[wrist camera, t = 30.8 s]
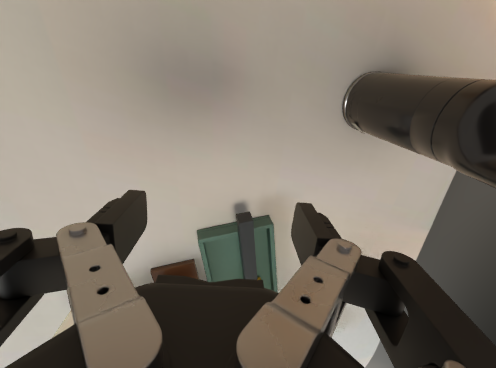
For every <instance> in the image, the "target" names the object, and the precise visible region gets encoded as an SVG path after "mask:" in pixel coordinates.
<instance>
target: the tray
mask: <svg viewBox="0 0 496 368" xmlns="http://www.w3.org/2000/svg"><path fill="white" fill-rule="evenodd" d="M253 224H254V238H255V252H256V266H257V278H258V277H260V278H261V280H263V283H264V288H267V289H270V290H273V291H275V292H277V275H276V259H275V242H274V226H273V222H272V221H271V219H270V217H269V215H267V216H262V217H258V218H253ZM197 235H198V243H199V247H200V252H201V256H202V260H203V264H204V269H205V273H206V277H207V281H208V282H217V281H224V280H232V279H244V278H243V269H242V261H241V253H240V244H239V236H238V228H237V222H234V223H229V224H225V225H220V226H215V227H210V228H206V229H201V230H197ZM277 293H278V292H277Z"/></svg>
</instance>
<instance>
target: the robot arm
mask: <svg viewBox="0 0 496 368" xmlns="http://www.w3.org/2000/svg"><path fill="white" fill-rule="evenodd" d="M343 115H344V118H345V120H346V122H347V123H348V125H349V126H351V127H352V128H354V129H356V130H359V131H360V132H361V133H364V132H366V133H368V134H370V135H373V136H375V137H378V138H380V139H383V140H385V141H388V142H391V143H393V144H396V145H398V146H401V147H403V148H406V149H408V150H411V151H413V152H416V153H418V154H421V155H424V156H426V157H429V158H431V159H434V160H436V161H439V162H441V163H444V164H446V165H449V166H451V167H453V168H454V169H456V170H457V171H459V172H461V173H463V174H465V175H467V176H469V177H472V178H474V179H476V180H479V181H481V182H483V183H486V184H488V185H490V186H492V187H494V188H496V80H485V79H470V78H452V77H436V76H421V75H406V74H392V73H382V72H369V73H366V74H364V75H362V76H360V77H359V78H358V79H356V80H355V81H354V82H353V84H352V85H351V86H350V88H349V89H348V91H347V93H346V95H345V98H344V102H343ZM364 134H365V133H364ZM146 225H147V201H146V193H145V191H139V190H128V191H127V192H126V193H125V194H124V195H123V196H122V197H121V198H117V199H114V200H112V201H110V202H108V203H107V204H106V205H105V206H104V207H103V208H101V209H100V210H99V211H98V212H97V213H96V214H95V215H94V216H92V217H91V218H90V219H89V220H88V221H87V222H83V223H75V224H71V225H68V226H66V227H64V228H62V229H60V230H59V231H58V232H57V234H56V237H52V238H43V239H33V236H32V232H31V230H29V229H25V228H12V229H7V230H2V231H0V346H1V345H2V344H3V343H4V342H5V340H6V339H7V338H8V337H9V336H10V334H11V333H12V332H13V331H14V330H15V328H16V327H17V326H18V325H19V324H20V323H21V321H22V320H23V319H24V318H25V317H26V315H27V314H28V313H29V312H30V311H31V309H32V308H33V307H34V306H35V305H36V304H37V302H38V301H39V300H40V299H41V298H42V296H43V295H44V293H50V292H56V291H61V290H67V294H68V299H69V303H70V308H71V313H72V317H73V322H74V325H72V326H71V327H69V328H68V329H66V330H64V331H63V332H61V333H60V334H58V335H56V336H55V337H53V338H52V339H50V340H48V341H47V342H45V343H44V344H42V345H40V346H39V347H37V348H36V349H34V350H32V351H31V352H29V353H28V354H26V355H24V356H23V357H21V358H20V359H18V360H16V361H15V362H13V363H12V364H10V365H8V366H7V367H5V368H364V367H363V366H362V365H361V364H360V363H359V362H358V361H357V360H355V359H354V358H353V357H352V356H351V355H350V354H349V353H348V352H347V351H345V350H344V349H343V348H342V347H341V346H340V345H339V344H338V343H337V342H335V341H334V340H333V339H332V335H333V333H334V330H335V328H336V326H337V324H338V321H339V319H340V317H341V314H342V312H343V310H344V308H345V305H346V303H349V304H352V305H356V306H359V307H363V308H365V310H366V312H367V314H368V316H369V318H370V320H371V322H372V324H373V326H374V328H375V330H376V332H377V334H378V336H379V338H380V340H381V342H382V344H383V346H384V348H385V350H386V352H387V354H388V356H389V358H390V360H391V362H392V364H393V366H394V368H496V346H495V345H494V344H493V343H492V342H491V341H490V339H489V338H488V337H487V336H486V335H485V334H484V333H483V332H482V331H481V330H480V329H479V328H478V327H477V326H476V325H475V324H474V323H473V321H472V320H471V319H470V318H469V317H468V316H467V315H466V314H465V313H464V312H463V311H462V310H461V309H460V308H459V307H458V306H457V304H455V302H454V301H453V300H452V299H451V298H450V297H449V296H448V295H447V294H446V293H445V292H444V291H443V290H442V289H441V288H440V286H439V285H438V284H437V283H436V282H435V281H434V280H433V279H432V278H431V277H430V276H429V275H428V274H427V273H426V272H425V271H424V270H423V268H422V267H421V266H420V265H419V264H418V263H417V262H416V261H415V260H413V259H412V258H410V257H408V256H406V255H404V254H402V253H398V252H394V251H386V252H384V253H383V254H382V256H381V259H380V260H378V259H374V258H370V257H366V256H363V255H361V250H360V248H359V247H358V246H357V245H355V244H354V243H352V242H350V241H347V240H344V239H342V238H341V237H340V235H339V234H338V232H337V231H336V229H334V227H333V225H332V224H331V222H330V221H329V219H328V218H327V217H326V216H324V215H323V214H321V213H317V212H316V210H315V208H314V207H313V205H312V204H311V203H297V204H296V207H295V212H294V218H293V223H292V229H291V237H292V241H293V244H294V247H295V249H296V252H297V255H298V258H299V260H300V263H301V267H300V268H299V270H298V271H297V272H296V273H295V274H294V276H293V277H292V278H291V279H290V281H289V282H288V283H287V284H286V285H285V287H284V288H283V289H282V290H281V291H280V293H277V292H275V291H273V290H270V289H267V288H264V283H263V280H255V279H232V280H224V281H217V282H207V281H203V280H199V279H195V278H191V277H187V276H176V275H158V276H157V279H156V281H155V283H150V284H145V285H142V286H139V287H136V288H135V287H134V285H133V284H132V282H131V280H130V278H129V276H128V274H127V272H126V270H125V268H124V266H123V263H124V261H125V260H126V258H127V257H128V255H129V254H130V252H131V251H132V249H133V247H134V246H135V244H136V243H137V241H138V240H139V238H140V237H141V235H142V234H143V232H144V230H145V228H146ZM405 306H406V308H407V311H408V316H409V317H408V316H407V314H406V313H405V311H404V308H405Z"/></svg>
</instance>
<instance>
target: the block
mask: <svg viewBox="0 0 496 368" xmlns="http://www.w3.org/2000/svg"><path fill="white" fill-rule="evenodd" d="M236 219H237V228H238V236H239V244H240V253H241V261H242V269H243V278H244V279H255V280H261V278H260V277H258V278H257V266H256V252H255V238H254V224H253V219H252V216H251V213H250V212H245V213H240V214H236Z"/></svg>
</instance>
